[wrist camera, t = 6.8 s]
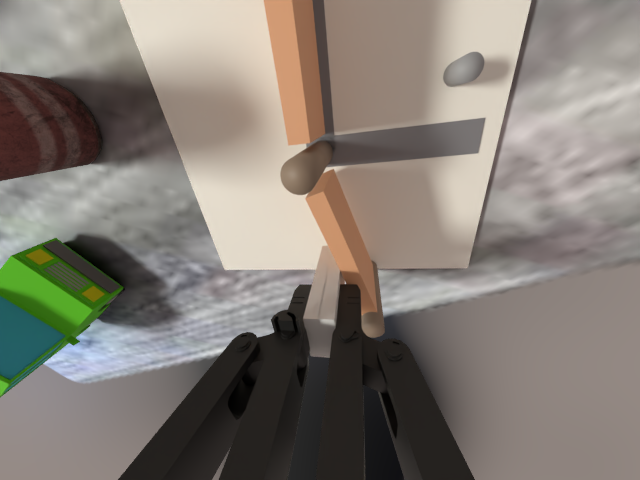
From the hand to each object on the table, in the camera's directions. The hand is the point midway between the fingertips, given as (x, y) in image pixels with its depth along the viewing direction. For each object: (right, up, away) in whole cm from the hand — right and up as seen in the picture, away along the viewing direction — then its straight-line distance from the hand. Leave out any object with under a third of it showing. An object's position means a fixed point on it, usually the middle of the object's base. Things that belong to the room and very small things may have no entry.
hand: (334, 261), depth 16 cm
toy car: (-30, -3, +11) cm, 32 cm away
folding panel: (+2, +3, +2) cm, 3 cm away
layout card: (-1, +8, 0) cm, 8 cm away
